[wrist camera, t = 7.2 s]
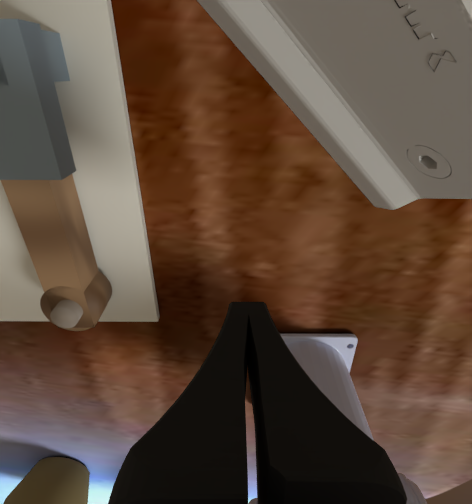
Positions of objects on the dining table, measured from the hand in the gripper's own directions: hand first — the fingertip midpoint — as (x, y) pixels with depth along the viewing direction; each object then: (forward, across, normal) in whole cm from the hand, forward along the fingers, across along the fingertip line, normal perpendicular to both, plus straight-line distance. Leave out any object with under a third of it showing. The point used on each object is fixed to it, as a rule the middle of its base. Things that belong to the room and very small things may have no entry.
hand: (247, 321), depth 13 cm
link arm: (+8, +11, 0) cm, 14 cm away
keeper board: (+9, +14, -2) cm, 17 cm away
